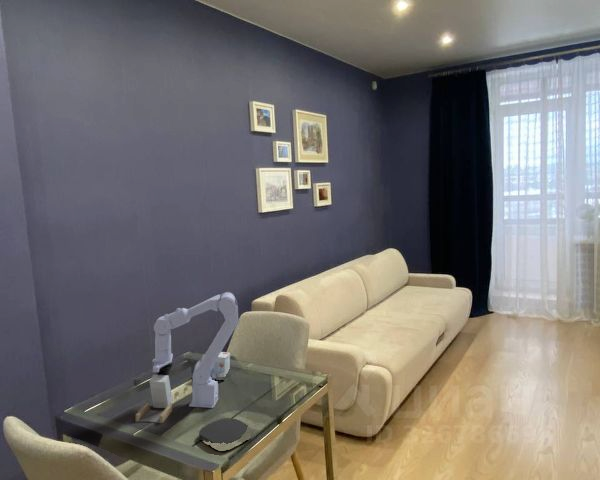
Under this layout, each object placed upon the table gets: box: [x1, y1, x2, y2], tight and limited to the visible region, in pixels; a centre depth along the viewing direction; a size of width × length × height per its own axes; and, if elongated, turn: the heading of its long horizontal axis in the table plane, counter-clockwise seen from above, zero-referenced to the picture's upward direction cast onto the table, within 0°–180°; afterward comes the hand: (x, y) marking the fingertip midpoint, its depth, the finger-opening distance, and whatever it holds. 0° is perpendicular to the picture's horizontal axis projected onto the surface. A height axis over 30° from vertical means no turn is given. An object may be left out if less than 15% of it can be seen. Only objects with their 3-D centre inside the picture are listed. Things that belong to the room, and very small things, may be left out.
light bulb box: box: [201, 351, 231, 378], centre depth 193 cm, size 11×7×11 cm, turn 81°
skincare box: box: [149, 374, 173, 409], centre depth 165 cm, size 6×4×12 cm
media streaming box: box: [198, 417, 249, 444], centre depth 146 cm, size 15×15×3 cm
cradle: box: [135, 402, 173, 424], centre depth 159 cm, size 10×9×2 cm
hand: (163, 383), depth 167 cm, fingers closed
